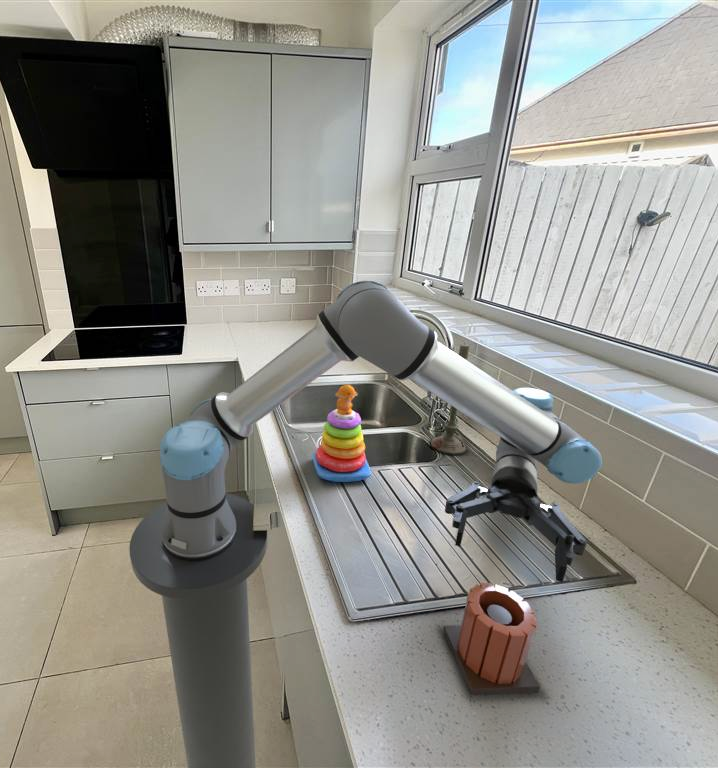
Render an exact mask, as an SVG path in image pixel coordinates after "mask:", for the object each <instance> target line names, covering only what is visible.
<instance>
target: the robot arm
mask: <svg viewBox="0 0 718 768" xmlns="http://www.w3.org/2000/svg"><path fill="white" fill-rule="evenodd" d="M359 357H360V358H361V359H364V360H365V361H367V362H368V363H370V364H372V365H374V366H375V367H377V368H379V369H381V370H382V371H384V372H385V373H387V374H389V375H391V376H392V377H394V378H395V379H397V380H399V381H406V380H410V381H412V382H413V383H414V384H416V385H418V386H419V387H420V388H423V389H424V390H426V391H427V392H429V393H431V394H432V395H434V396H435V397H437V398H439V400H441V401H443V402H445V403H446V404H448V405H450V406H453V407H454V408H456V409H457V411H459V412H460V413H462V414H463V415H465V416H467V417H468V418H470V419H471V420H473V421H475V422H476V423H478V424H479V425H481V426H483V427H484V428H485V429H488V430H489V431H490V432H492V433H494V434H495V435H497V436H499V440H498V441H499V442H498V444H497V448H496V451H495V464H494V467H493V472H492V478H491V483H490V487H489V488H486V487H482V486H480V485H481V484H480V482H479V481H472V483H471V485H470V486H469V487H467V488H465V489H463V490H461V491H460V492H458V493H455V494H454V495H452V496H450V497H447V499H446V502H445V507H444V513H446V514H447V515H453V518H452V524H451V526H452V528H454V529H457V533H456V538H455V543H454V546H457V547H461V545H462V540H463V537H464V532H465V530H466V529H465V528H466V524H467V519H468V518H471V517H475V516H480V515H482V514H486V513H489V514H494V513H498V512H500V514H504V515H508V516H511V517H514V518H517V519H522V520H523V521H524V522H525V523H526V524H527V525H529V526H533V527H534V528H535V529H536V530H537V531H539V533H541V534H542V535H543V536H544V537H545V538H546V539H547V540H548V541H549V542H550V543H552V545H554V546H555V549H554V565H555V569H554V570H555V581H557V582H560V583H563V581H564V578H565V575H566V572H567V569H568V566H571V565H572V564H573V560H574V558H575V555H578V556H583V555H584V553H585V550H586V546H587V544H588V540H586V538H585V536H583V535H582V534H581V533H580V532H579V530H578V529H577V528H576V527H575V525H573V523H572V522H571V521H570V520H569V518H567V517H566V515H565V514H564V513H563V512H562V511H561V507H560V505H559V503H557V502H551V503H550V504H549V505H548V504H543V503H541V502H540V501H539V499H538V464H539V463H540V464H542V465H543V466H544V467H545V468H546V469H547V471H548V473H550V474H551V475H553V476H554V477H555V478H557V480H559V481H561V482H563V483H566V484H574V485H575V484H582V483H585V482H588V481H590V480H592V479H593V478H594V477H595V476H596V475H597V474H598V473H599V472H600V470H601V468H602V466H603V465H602V464H603V458H602V455H601V453H600V451H599V450H598V449H597V448H596V447H595V446H593V444H592V442H591V441H589V440H587V439H586V438H584V437H583V436H581V435H580V434H578V432H576V431H575V430H574V429H573V428H571V427H570V426H568V425H567V424H566V423H565V422H564V421H563V420H562V419H560V418H559V417H558V416H557V415H555V414H554V413H552V411H553V409H554V403H555V401H554V400H555V399H554V396H553V395H552V394H551V393H549V392H547V391H545V390H543V389H538V388H533V387H518V388H515V389H513V390H512V389H511V388H509V387H507V386H506V385H504V384H503V383H502V382H500V381H498V380H497V379H495V378H494V377H492V376H491V375H490V374H488V373H486V372H485V371H483V370H482V369H480V368H479V367H477V366H476V365H475V364H473V363H471V362H470V361H468V359H467V360H465V359H464V358H462V357H460V356H459V354H457V353H456V352H455V351H453V350H452V349H450V348H448V347H447V346H445V345H444V344H443V343H441V342H439V341H438V334H437V331H435V330H433V329H431V328H430V327H429V326H427V325H426V324H424V323H423V322H422V321H420V320H419V318H418V317H416V316H415V315H414V314H413V313H412V312H411V311H410V310H409V309H408V308H407V307H406V306H405V304H404V303H402V301H401V300H400V299H399V298H398V297H397V296H395V294H394V293H393V292H392V291H391V290H390V289H389V288H388V287H387V286H386V285H383V284H382V283H380V282H377V281H374V280H360V281H356V282H353V283H350V284H349V285H347V286H346V287H344V288H343V289H342V290H341V291H340V293H339V294H338V295H337V297H336V299H335V300H334V301H333V302H331V303H330V304H329V305H328V306H326V307H325V308H324V309H323V310H322V311H320V312H319V313H318V314H316V319H315V325H314V327H312V328H311V329H310V330H309V331H308V332H306V333H305V334H304V335H302V336H301V337H299V338H298V339H297V340H295V342H293V343H292V344H291V345H289V346H288V347H287V348H285V349H284V350H283V351H282V352H281V353H279V354H278V355H276V356H275V357H274V358H273V359H272V360H270V361H269V362H268V363H266V364H265V365H264V366H262V367H261V368H260V369H259V370H257V371H256V372H255V373H254V374H253V375H251V376H250V377H249V378H247V379H246V380H245V381H244V382H242V383H241V384H240V385H238V386H237V387H235V388H234V389H233V390H231V392H225V391H221V392H218V393H217V394H215V396H213V397H211V398H208V399H205V400H203V401H202V402H200V403H199V404H197V405H196V406H195V407H194V409H192V410H191V413H190V414H189V416H188V419H187V420H186V421H184V422H180V423H179V424H178V426H176V425H174V426H173V427H171V428H170V429H169V430H168V431H166V432H165V433H164V435H163V437H162V439H161V441H160V444H159V445H160V446H159V449H160V453H159V459H160V466H161V469H162V477H163V484H164V492H165V498H166V499H165V500H166V502H167V511H166V515H165V519H164V522H163V526H162V542H163V546H164V548H165V549H166V551H167V552H168V553H169V554H170V555H172V556H174V557H176V558H178V559H181V560H186V561H200V560H205V559H209V558H212V557H214V556H217V555H219V554H220V553H222V552H223V551H225V550H226V549H227V548H228V547H229V546H230V545H231V544H232V543H233V541H234V539H235V537H236V532H237V527H236V520H235V516H234V514H233V512H232V510H231V508H230V506H229V504H228V502H227V500H226V494H225V493H226V479H225V477H226V476H225V473H226V472H225V470H226V466H227V465H228V461H229V458H230V455H231V452H232V450H233V449H234V448H235V447H237V446H238V445H239V444H241V443H242V442H244V441H245V440H246V439H247V438H249V437H250V436H251V435H252V434H253V432H254V425H255V424H256V423H258V422H259V421H260V420H262V419H264V418H265V417H266V416H267V415H269V414H270V413H271V412H273V411H274V410H276V409H277V408H278V407H280V406H281V405H283V404H284V403H285V402H287V401H288V400H289V399H290V398H292V397H293V396H295V395H296V394H298V392H300V391H302V390H303V389H304V388H305V387H307V386H309V385H310V384H311V383H312V382H314V381H315V380H317V379H318V378H319V377H321V376H322V375H323V374H325V373H326V372H327V371H329V370H330V369H332V368H333V367H335V366H336V365H337V364H339V363H340V362H343V361H344V362H352V363H353V362H354V361H355V360H357V359H358V358H359ZM574 554H575V555H574Z"/></svg>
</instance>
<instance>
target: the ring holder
mask: <svg viewBox="0 0 718 768" xmlns="http://www.w3.org/2000/svg"><path fill="white" fill-rule="evenodd" d="M486 615H487V616H489V617H490V618H491V619H492V620H494V621H495V622H498V623H500V624H503V625H506V626H511V622H512V616H511V614H510V613H509V612H508V611H507V610H506V609H505V608H503V607H501V606H499V605H490V606H489V607H488V608H487V611H486ZM460 629H461V625H444V626H443V629H442V632H443V635H444V637H445V639H446V642H447V644H448V646H449V647H450V648H449V649H450V650H451V653H452V655H453V658H454V659H455V662H456V665H457V666H458V668H459V670H460V673H461V675H462V677H463V679H464V682H465V685H466V687H467V688H468V690H469V693H470V695H471V696H478V695H479V696H481V695H507V694H508V695H509V694H532V693H533V694H534V693H539V692H540V689H541V685H540V683H539V682H538V680H537V678H536V677H535V675H534V674H533V672H532V670H531V668H530V666H529V665H528V663H527V662H526V661H525V664H524V667H523V670H522V673H521V676H520V677H519V678H518V679H517V680H516V681H515V682H514V683H513V682H511V683H508V684H498V683H497V681H496V682H495V683H493V682H491V681H489V680H487V679H484V678H482V677H480V673H479V674H478V675H477V674H476V673H475V672H474V671H473V670H472V669H471V668H470V667H469V666H468V665H467V664H466V661H464V660H463V658H462V656H461V654H460V652H459V650H458V648H459V647H458V639H459V633H460Z"/></svg>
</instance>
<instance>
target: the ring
mask: <svg viewBox="0 0 718 768" xmlns="http://www.w3.org/2000/svg"><path fill="white" fill-rule="evenodd" d="M490 605H499V606H501V607H503V608H505V609H506V610H507V611H508V612H509V613H510V614H511V616H512V622H511V626H506V625H503V624H500V623H498V622H495V621H494V620H492V619H491V618H490V617H489V616H487V615H486V611H487V608H488V607H489V606H490ZM536 629H537V615H535V611H534V610H533V608H532V607H531V605H530V604H529V602H528V601H527V600H525V598H524V597H522V596H521V595H519V594H518V593H517V592H515V591H514V590H512V589H511V590H510V589H509V588H508V587H506V586H503V585H500V584H498V583H494V584H493V583H492V582H482V583H481V582H480V583H478V584H475V585H474V586H473V587H471V588H470V589H469V591H468V593H467V598H466V601H465V606H464V611H463V615H462V620H461V629H460V633H459V639H458V647H459V648H458V650H459V652H460V654H461V656H462V658H463V660H464V661H466V664H467V665H468V666H469V667H470V668H471V669H472V670H473V671H474V672H475V673H476V674H477V675H478V674H479V673H480V677H482V678H484V679H487V680H489V681H491V682H493V683H495V682H496V681H497V683H498V684H508V683H511V682H513V683H514V682H515V681H516V680H517V679H518V678H519V677H520V676H521V673H522V670H523V667H524V664H525V662H526V660H527V657H528V654H529V652H530V648H531V646H532V642H533V638H534V636H535V633H536Z"/></svg>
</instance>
